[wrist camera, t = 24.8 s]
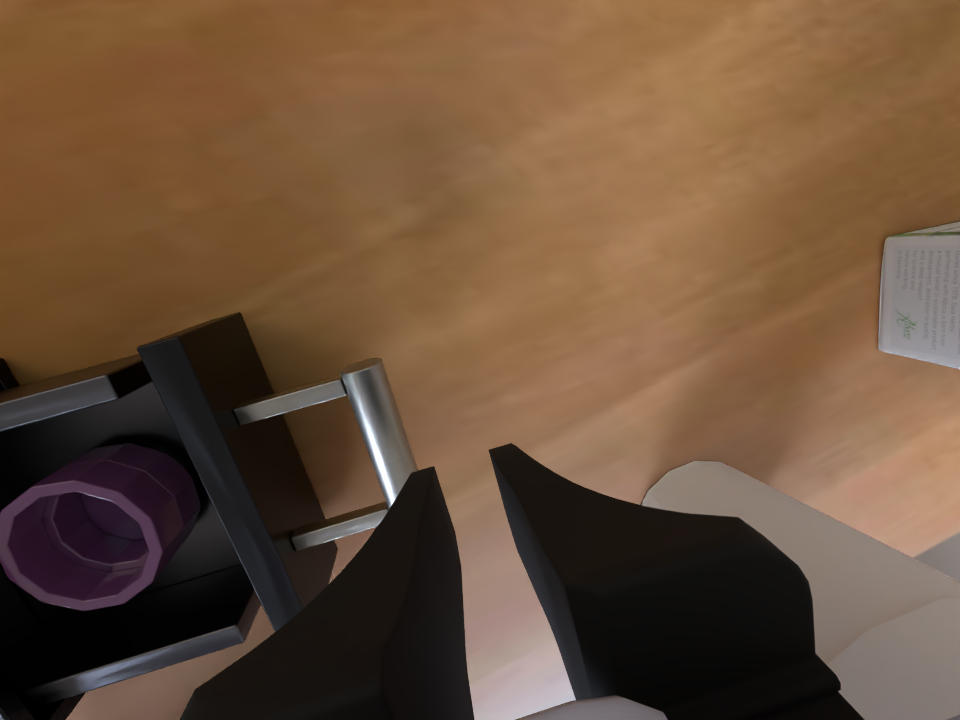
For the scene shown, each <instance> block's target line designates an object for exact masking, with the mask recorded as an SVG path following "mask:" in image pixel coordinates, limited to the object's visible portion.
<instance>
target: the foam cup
mask: <svg viewBox="0 0 960 720" xmlns="http://www.w3.org/2000/svg"><path fill="white" fill-rule="evenodd" d="M642 506H647V507H652V508H657V509H663V510H669V511H676V512H682V513H690V514H704V515H717V516H731V517H739V518H740V519H742V520H743V521H744V522H746V523H747V524H748V525H750V526H751V527H753V528H754V529H755V530H757V531H758V532H759V533H761V534H762V535H763V536H765V537H766V538H767V539H768V540H769V541H771V542H772V543H773V544H774V545H775V546H776V547H778V548H779V549H780V550H781V551H782V552H783V553H784V554H786V555H787V556H788V557H789V558H790V559H791V560H793V561H794V562H795V563H796V564H797V565H798V566H799V567H800V569H801V570H802V572H803V573H804V575H805V577H806V578H807V580H808V581H809V585H810V590H811V594H812V599H813V614H814V633H815V652H816V654H817V655H818V656H819V657H820V659H821V660H822V661H823V662H824V663H825V664H826V665H827V666H828V667H829V668H830V669H831V670H832V671H833V672H834V673H835V674H836V675H837V677H838V679H839V681H840V683H841V690H839V691H838V692H839V693H840V694H841V695H842V696H843V697H844V698H845V699H846V700H847V701H848V702H849V704H850V705H851V706H852V707H853V708H854V709H855V710H856V711H857V712H858V713H859V714H860V715H861V716H862V717H863V719H864V720H946V719H949V718H952V717H955V716H958V715H960V582H959V581H957V580H955V579H953V578H951V577H949V576H947V575H945V574H943V573H941V572H939V571H937V570H935V569H933V568H931V567H929V566H927V565H925V564H923V563H921V562H919V561H917V560H915V559H913V558H912V557H910V556H908V555H906V554H904V553H902V552H900V551H898V550H896V549H894V548H892V547H890V546H888V545H886V544H884V543H882V542H880V541H878V540H876V539H874V538H872V537H870V536H868V535H866V534H864V533H862V532H860V531H858V530H856V529H854V528H852V527H850V526H848V525H846V524H844V523H842V522H840V521H838V520H836V519H834V518H832V517H830V516H828V515H826V514H824V513H822V512H820V511H818V510H816V509H814V508H812V507H810V506H808V505H806V504H804V503H802V502H800V501H798V500H796V499H794V498H792V497H790V496H788V495H787V494H785V493H783V492H781V491H779V490H777V489H775V488H773V487H771V486H769V485H767V484H765V483H763V482H761V481H759V480H757V479H755V478H753V477H751V476H749V475H747V474H745V473H743V472H741V471H739V470H737V469H735V468H733V467H731V466H727V465H725V464H724V463H722V462H717V461H693V462H690V463H688V464H685V465H683V466H681V467H678V468H676V469H673V470H671V471H668V472H667V473H666V474H665V475H664V476H663V477H662V478H661V479H660V480H659V481H658V482H657V483H656V484H655V485H654V486H653V487H651V488H650V489H649V490H648V492H647V494H646V496H645V498H644V500H643V503H642Z"/></svg>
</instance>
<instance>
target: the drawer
mask: <svg viewBox="0 0 960 720" xmlns="http://www.w3.org/2000/svg"><path fill="white" fill-rule="evenodd" d="M137 350H138V352H139V354H136V355H132V356H129V357H125V358H121V359H117V360H114V361H110V362H106V363H103V364H99V365H95V366H91V367H88V368H84V369H80V370H77V371H73V372H69V373H65V374H62V375H58V376H54V377H51V378H47V379H43V380H39V381H36V382H32V383H28V384H25V385H21V386H17V387H13V388H10V389H6V390H2V391H0V512H1V510H2V509H3V508H5V507H6V506H7V505H8V504H10V503H11V502H12V501H14V500H15V499H16V498H17V497H19V496H20V495H21V494H22V493H24V492H25V491H26V490H28V489H29V488H30V487H32V486H33V485H35V484H36V483H38V482H40V481H41V480H43V479H44V478H46V477H48V476H49V475H51V474H52V473H54V472H56V471H57V470H59V469H60V468H62V467H64V466H65V465H67V464H68V463H70V462H72V461H73V460H75V459H76V458H78V457H80V456H81V455H83V454H84V453H86V452H87V451H89V450H91V449H94V448H99V447H105V446H112V445H119V444H126V443H129V444H130V443H132V444H136V445H139V446H142V447H148V448H153V449H156V450H159V451H162V452H164V453H166V454H168V455H169V456H171V457H173V458H174V459H176V460H177V461H178V462H179V463H181V465H182V466H183V467H184V468H185V469H186V470H187V471H188V473H189V474H190V475H191V477H192V479H193V482H194V484H195V488H196V492H197V495H198V498H199V501H200V510H199V513H198V516H197V519H196V522H195V525H194V528H193V531H192V532H191V534H190V535H189V536H188V538H187V539H186V540H185V541H184V543H183V544H182V545H181V547H180V548H179V549H178V550H177V552H176V553H175V554H174V556H173V557H172V558H171V559H170V561H169V562H168V563H167V565H166V566H165V567H164V568H163V570H162V571H161V572H160V573H159V575H158V576H157V577H156V579H155V580H154V581H153V582H152V583H151V584H150V585H149V586H147V587H146V588H145V589H143V590H142V591H141V592H139V593H138V594H137V595H135V596H134V597H133V598H131V599H130V600H129V601H127V602H126V603H124V604H121V605H116V606H110V607H105V608H99V609H93V610H88V611H80V610H76V609H71V608H66V607H62V606H57V605H52V604H48V603H43V602H41V601H39V600H38V599H36V598H35V597H34V596H32V595H31V594H29V593H28V592H26V591H25V590H24V589H22V588H21V587H19V586H18V585H17V584H15V583H14V582H12V581H11V580H10V579H9V578H8V577H7V576H6V573H5V571H4V569H3V567H2V565H1V563H0V672H1V673H2V675H3V676H4V678H5V679H6V680H7V682H8V683H9V684H10V686H11V687H12V688H13V690H14V691H15V693H16V694H17V695H18V697H19V698H20V699H21V701H22V702H23V703H24V705H25V706H26V707H27V709H28V710H30V709H33V708H36V707H39V706H42V705H46V704H49V703H52V702H55V701H58V700H62V699H65V698H68V697H71V696H74V695H78V694H81V693H84V692H87V691H91V690H94V689H97V688H100V687H103V686H107V685H110V684H113V683H116V682H119V681H123V680H126V679H129V678H132V677H135V676H139V675H142V674H145V673H148V672H151V671H155V670H158V669H161V668H164V667H167V666H171V665H174V664H177V663H180V662H183V661H187V660H190V659H193V658H196V657H199V656H203V655H206V654H209V653H212V652H215V651H219V650H222V649H225V648H228V647H231V646H235V645H238V644H241V643H243V642H244V641H245V640H246V637H247V635H248V633H249V631H250V628H251V626H252V624H253V621H254V619H255V617H256V615H257V612H258V610H259V608H260V605H261V604H262V606H263V608H264V610H265V612H266V614H267V616H268V618H269V621H270V623H271V625H272V627H273V629H274V631H275V632H276V631H277V630H279V629H280V628H281V627H282V626H284V625H285V624H286V623H287V622H288V621H290V620H291V619H292V618H293V617H294V616H295V615H297V614H298V613H299V612H300V611H301V610H302V609H304V608H305V607H306V606H307V605H308V604H309V603H310V602H311V601H312V600H313V599H314V598H315V597H316V596H317V595H318V594H319V593H320V592H321V591H322V590H323V589H325V588H326V587H327V586H328V584H329V580H330V577H331V573H332V569H333V565H334V561H335V558H336V554H337V550H338V548H337V546H336V543H335V541H334V540H335V539H339V538H342V537H345V536H349V535H352V534H355V533H359V532H362V531H365V530H368V529H372V528H375V527H377V526H378V525H379V524H380V522H381V521H382V519H383V518H384V517H385V515H386V513H387V512H388V510H389V509H390V507H391V505H392V504H393V502H394V501H395V499H396V497H397V495H398V494H399V492H400V490H401V489H402V487H403V485H404V484H405V482H406V480H407V479H408V477H409V475H410V474H411V473H412V472H416V471H418V468H417V465H416V462H415V459H414V456H413V453H412V450H411V447H410V444H409V441H408V438H407V435H406V432H405V429H404V426H403V423H402V420H401V417H400V414H399V411H398V407H397V404H396V401H395V398H394V395H393V392H392V389H391V386H390V383H389V380H388V377H387V374H386V371H385V368H384V365H383V362H382V359H380V358H370V359H366V360H362V361H359V362H356V363H353V364H351V365H349V366H347V367H345V368H343V369H342V370H341V371H340V375H339V376H336V377H332V378H329V379H325V380H321V381H318V382H314V383H311V384H307V385H303V386H300V387H296V388H293V389H289V390H286V391H282V392H278V393H275V394H274V392H273V390H272V387H271V385H270V383H269V380H268V378H267V375H266V373H265V370H264V368H263V366H262V363H261V361H260V358H259V356H258V353H257V351H256V348H255V346H254V344H253V341H252V339H251V336H250V334H249V331H248V329H247V327H246V324H245V322H244V319H243V317H242V314H241V313H239V312H238V313H234V314H231V315H227V316H223V317H220V318H216V319H212V320H209V321H206V322H203V323H201V324H198V325H195V326H193V327H190V328H187V329H184V330H182V331H179V332H176V333H174V334H171V335H168V336H165V337H163V338H160V339H157V340H155V341H152V342H149V343H146V344H144V345H141V346H139V347H137ZM346 394H348V397H349V400H350V403H351V406H352V408H353V411H354V414H355V417H356V419H357V422H358V425H359V428H360V430H361V433H362V436H363V439H364V442H365V444H366V447H367V450H368V453H369V455H370V458H371V461H372V464H373V467H374V469H375V472H376V475H377V478H378V480H379V483H380V486H381V489H382V491H383V494H384V497H385V500H386V502H382V503H379V504H376V505H372V506H369V507H365V508H362V509H359V510H355V511H352V512H349V513H345V514H342V515H339V516H335V517H332V518H329V519H325V517H324V514H323V512H322V509H321V507H320V504H319V502H318V500H317V497H316V495H315V492H314V490H313V487H312V485H311V483H310V480H309V478H308V475H307V473H306V470H305V468H304V465H303V463H302V461H301V458H300V456H299V453H298V451H297V448H296V446H295V444H294V441H293V439H292V436H291V434H290V431H289V429H288V426H287V424H286V422H285V419H284V417H283V413H287V412H290V411H294V410H297V409H301V408H304V407H308V406H311V405H315V404H319V403H322V402H326V401H329V400H333V399H336V398H340V397H343V396H346Z"/></svg>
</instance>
